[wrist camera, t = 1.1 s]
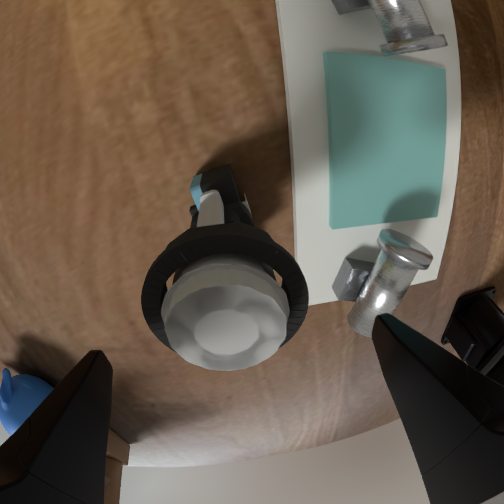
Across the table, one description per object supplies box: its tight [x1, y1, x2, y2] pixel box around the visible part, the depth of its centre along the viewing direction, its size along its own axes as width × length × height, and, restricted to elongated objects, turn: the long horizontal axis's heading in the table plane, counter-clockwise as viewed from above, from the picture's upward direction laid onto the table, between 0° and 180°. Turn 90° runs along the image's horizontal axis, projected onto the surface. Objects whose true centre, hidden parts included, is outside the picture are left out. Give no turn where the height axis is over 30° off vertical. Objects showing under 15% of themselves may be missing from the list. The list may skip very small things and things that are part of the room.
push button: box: [141, 164, 309, 371], centre depth 13 cm, size 7×5×10 cm
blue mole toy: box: [0, 368, 54, 435], centre depth 21 cm, size 12×12×8 cm
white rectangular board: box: [275, 0, 461, 305], centre depth 15 cm, size 12×22×1 cm, turn 6°
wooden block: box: [104, 428, 130, 504], centre depth 22 cm, size 4×11×18 cm, turn 10°
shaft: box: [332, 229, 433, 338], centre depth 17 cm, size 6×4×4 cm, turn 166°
